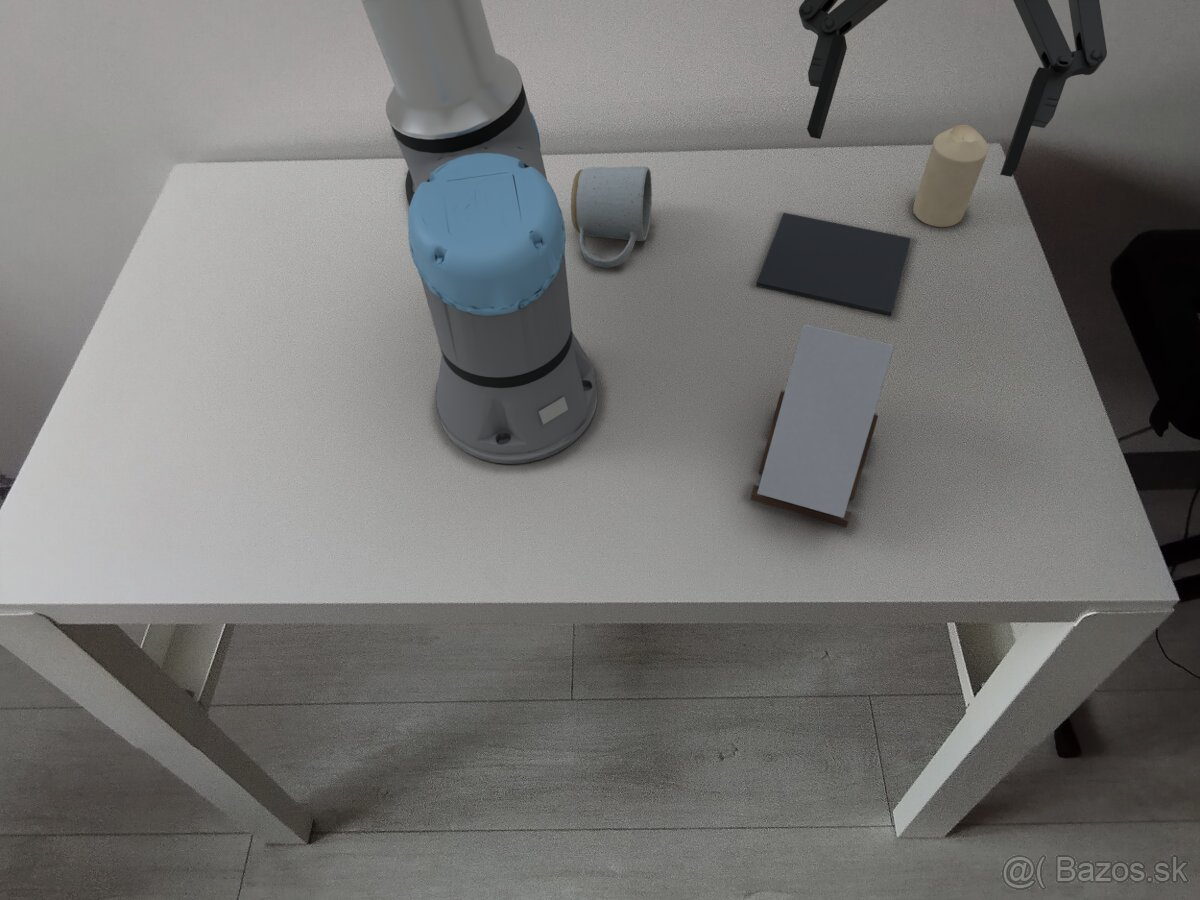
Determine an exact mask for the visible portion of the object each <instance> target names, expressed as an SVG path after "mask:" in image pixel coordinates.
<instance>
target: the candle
mask: <svg viewBox="0 0 1200 900" xmlns="http://www.w3.org/2000/svg"><path fill="white" fill-rule="evenodd" d="M989 149H990V148H989V145H988V143H987V141H986V140H985V138H984V136H982V135H981V134H980V133H979V132H978V131H977V130H976V129H974V128H973V126H970V125H969V124H961V125H955V126H953V127H950V128H949V129H947V130H945V131H943V132H941V133H939V134H937V135H936V136H935V137H934V140H933V143H932V145H931V149H930V152H929V155H928V157H927V160H926V161H927V162H926V165H925V167H924V170H923V173H922V177H921V180H920V184H919V187H918V190H917V192H916V195H915V199H914V203H913V208H912V210H913V214H914V215H915V217H916V218H917V219H918V220H919V221H920V222H922V223H923V224H926V225H929V226H932V227H937V228H948V227H953V226H955V225H957V224H958V223H960V222H961V221H962V219H963V218H964V215H965V213H966V211H967V209H968V206H969V203H970V200H971V198H972V195H973V192H974V190H975V187H976V186H977V185H976V184H977V182H978V180H979V177H980V175H981V172H982V169H983V166H984V163H985V162H986V158H987V156H988V153H989Z"/></svg>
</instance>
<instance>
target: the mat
mask: <svg viewBox="0 0 1200 900" xmlns="http://www.w3.org/2000/svg"><path fill="white" fill-rule="evenodd" d="M910 241H911V237H908V236H902V235H897V234H892V233H887V232H882V231H877V230H871V229H867V228H862V227H858V226H854V225H853V226H852V225H847V224H842V223H837V222H832V221H828V220H822V219H816V218H811V217H807V216H802V215H797V214H792V213H788V212H783V213H782V216H781V219H780V221H779V224H778V226H777V229H776V232H775V235H774V237H773V239H772V242H771V245H770V246H769V249H768V252H767V255H766V258H765V260H764V262H763V265H762V267H761V270H760V273H759V276H758V278H757V281H756V287H759V288H761V287H762V288H765V289H769V290H774V291H779V292H783V293H787V294H792V295H797V296H799V297H800V296H801V297H806V298H810V299H814V300H818V301H823V302H826V303H827V302H829V303H832V304H837V305H841V306H846V307H849V308H855V309H859V310H863V311H867V312H872V313H877V314H881V315H886V316H892V314H893V310H894V306H895V302H896V298H897V294H898V290H899V286H900V283H901V282H900V281H901V277H902V273H903V269H904V265H905V261H906V257H907V254H908V249H909V245H910Z"/></svg>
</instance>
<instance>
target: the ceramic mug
mask: <svg viewBox="0 0 1200 900" xmlns="http://www.w3.org/2000/svg"><path fill="white" fill-rule="evenodd" d="M650 169H651V168H650V167H648V166H594V167H593V166H592V167H587V168H582V169H579V170H578V171H577V172H576V173H575V175H574V177H573V181H572V184H571V185H572V186H571V194H570V195H571V197H570V214H571V216H570V217H571V222H572V226H573V229H575V231H576V232H577V233H578V234H579V247H580V250H581V253H582V255H583V257H584V259H585V260H586V261H588V262H589V263H590V264H591V265H593V266H596V267H598V268H615V267H617V266H619V265H621V264H622V263H624V262H625V261H626V260H627V259H628V258H629V256H630V254H631V253H632V251H633V249H634V246H635V244H636V242H644V241H646V239H648V235H649V230H650V225H651V217H652V205H653V200H652V199H653V198H652V197H653V187H652V186H653V185H652V173H651V170H650ZM587 236H589V237H598V238H608V239H615V240H616V239H617V240H626V241H628V242H627V244H626V245H625V247H624V248H623V250H622V251H621V252H620V253H618V254H617V255H615V256H613V257H612V258H609V259H602V258H599V256H597V255H594V254H591V252H590V251H588V250H587V249H586V237H587Z"/></svg>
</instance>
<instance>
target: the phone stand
mask: <svg viewBox="0 0 1200 900" xmlns="http://www.w3.org/2000/svg"><path fill="white" fill-rule="evenodd" d="M785 390H786V389H782V390H780V392H779V396H778V399H777V403H776V406H775V409H774V414H773V418H772V422H771V425H770V429H769V431H768V437H767V440H766V444H765V448H764V451H763V455H762V458H761V462H760V465H759V469H758V473H759V474H761V475H762V474H763V470H764V467H765V463H766V459H767V456H768V452H769V448H770V445H771V441H772V437H773V434H774V430H775V426H776V423H777V419H778V415H779V412H780V408H781V404H782V401H783V397H784V393H785ZM878 419H879V414H878V413H877V412H875V414H874V417H873V420H872V424H871V427H870V431H869V434H868V437H867V441H866V444H865V447H864V451H863V454H862V458H861V461H860V464H859V468H858V471H857V475H856V478H855V481H854V485H853V488H852V492H851V495H850V498H849V499H851V500H854V499H855V496H856V493H857V489H858V486H859V483H860V480H861V476H862V473H863V470H864V466H865V463H866V459H867V456H868V453H869V450H870V446H871V442H872V439H873V436H874V432H875V429H876V425H877V422H878ZM758 489H759V485H757V484H753V487H752V490H751V492H750V499H749V500H751V501H753V502H756V503H761V504H764V505H767V506H771V507H774V508H778V509H781V510H785V511H787V512H788V511H789V512H792V513H796V514H798V515H799V514H800V515H803V516H806V517H808V518H809V517H810V518H812V519H817V520H820V521H824V522H827V523H830V524H834V525H838V526H841V527H845V528H847V527H848V525H849V522H850V519H851V514H852V511H849V510H846V512H845V515H844V518H841V517H838V516H834V515H830V514H827V513H823V512H820V511H816V510H813V509H809V508H806V507H802V506H799V505H795V504H792V503H788V502H785V501H781V500H778V499H774V498H770V497H767V496H763V495H760V494H757V492H758Z"/></svg>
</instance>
